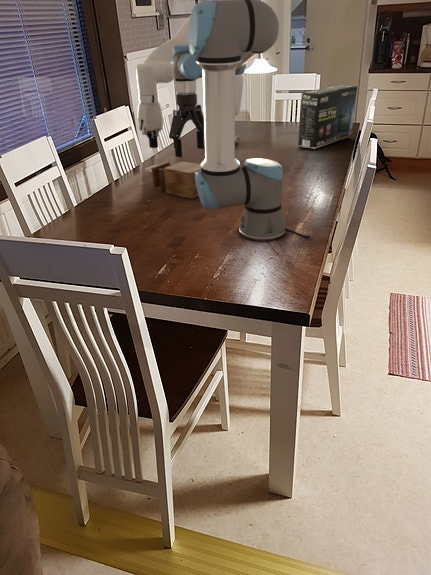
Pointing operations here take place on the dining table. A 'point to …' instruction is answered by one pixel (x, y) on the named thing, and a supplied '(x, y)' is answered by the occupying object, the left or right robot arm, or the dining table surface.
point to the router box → (326, 115)
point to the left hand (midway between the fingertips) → (153, 147)
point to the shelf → (158, 174)
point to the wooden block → (182, 179)
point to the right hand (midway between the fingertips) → (190, 152)
